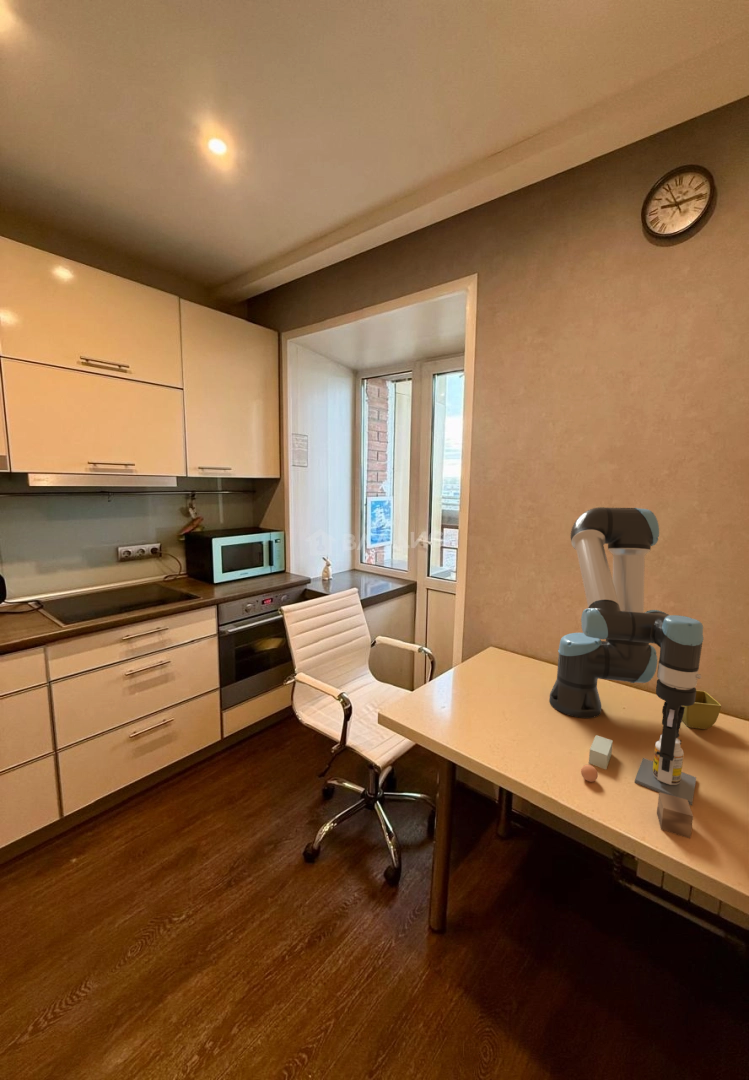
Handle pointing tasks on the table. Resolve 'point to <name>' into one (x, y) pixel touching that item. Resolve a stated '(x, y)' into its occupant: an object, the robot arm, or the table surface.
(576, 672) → the robot arm
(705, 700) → the flower pot
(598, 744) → the sage block
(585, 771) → the terracotta ball
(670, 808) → the walnut cube
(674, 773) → the supplement bottle
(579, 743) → the table surface
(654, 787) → the slate coaster
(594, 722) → the table surface
